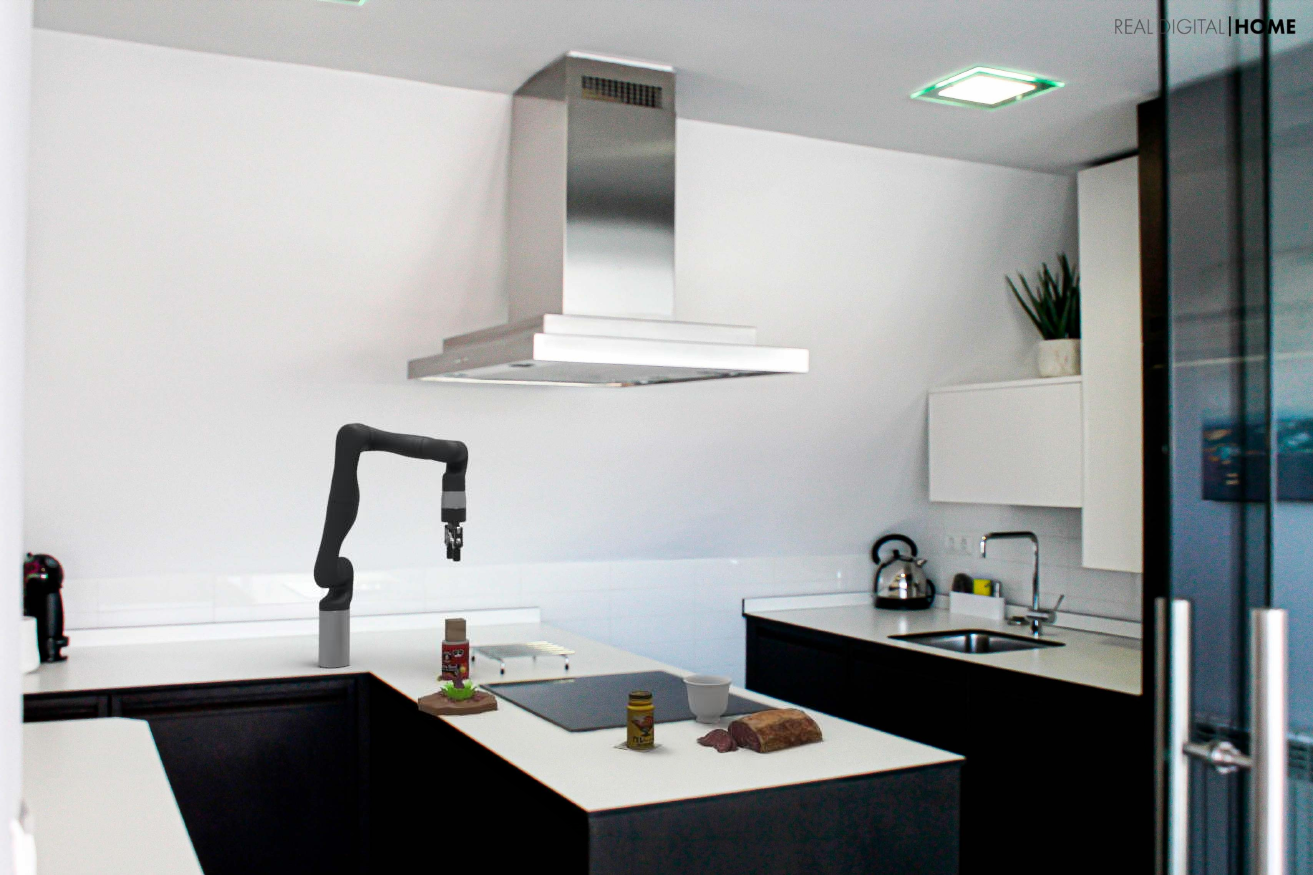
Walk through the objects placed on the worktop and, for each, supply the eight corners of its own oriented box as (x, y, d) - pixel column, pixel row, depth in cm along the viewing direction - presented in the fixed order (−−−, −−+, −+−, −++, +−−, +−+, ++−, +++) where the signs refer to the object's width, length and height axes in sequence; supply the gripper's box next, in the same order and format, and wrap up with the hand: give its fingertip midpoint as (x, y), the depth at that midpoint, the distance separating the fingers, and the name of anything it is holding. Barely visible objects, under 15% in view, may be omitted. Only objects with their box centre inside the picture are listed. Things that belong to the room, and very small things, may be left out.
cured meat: (686, 743, 246) (687, 713, 246) (765, 726, 262) (765, 698, 262) (743, 762, 232) (744, 730, 232) (822, 743, 249) (823, 713, 249)
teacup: (715, 710, 278) (715, 670, 278) (741, 723, 264) (741, 681, 265) (671, 714, 274) (671, 674, 274) (695, 727, 260) (695, 685, 260)
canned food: (436, 679, 318) (436, 641, 318) (453, 674, 325) (453, 637, 325) (457, 681, 314) (457, 643, 314) (474, 676, 321) (474, 639, 321)
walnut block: (444, 639, 321) (445, 618, 321) (461, 638, 323) (461, 617, 323) (448, 642, 316) (449, 621, 316) (466, 640, 318) (466, 620, 319)
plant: (432, 720, 269) (432, 674, 269) (409, 704, 286) (410, 661, 286) (509, 711, 279) (509, 667, 279) (483, 696, 296) (483, 655, 296)
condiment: (646, 752, 238) (646, 697, 239) (612, 747, 242) (612, 693, 243) (662, 744, 245) (662, 690, 245) (629, 740, 249) (629, 687, 249)
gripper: (436, 505, 337) (436, 558, 337) (446, 507, 324) (446, 562, 324) (460, 505, 340) (460, 557, 340) (471, 507, 327) (471, 561, 327)
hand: (453, 560), depth 332 cm, fingers open, 8 cm apart
